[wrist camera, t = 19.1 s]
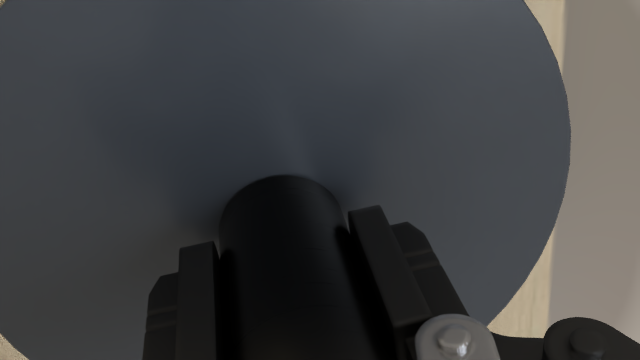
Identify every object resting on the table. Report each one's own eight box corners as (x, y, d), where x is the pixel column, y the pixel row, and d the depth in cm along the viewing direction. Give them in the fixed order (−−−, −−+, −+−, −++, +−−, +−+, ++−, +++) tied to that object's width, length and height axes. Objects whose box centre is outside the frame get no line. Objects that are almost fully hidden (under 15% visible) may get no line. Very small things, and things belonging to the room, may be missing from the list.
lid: (-199, -45, 11) (-704, 130, 5) (575, -179, 12) (965, -176, 6) (87, 442, 19) (35, 738, 13) (533, 335, 20) (678, 559, 14)
